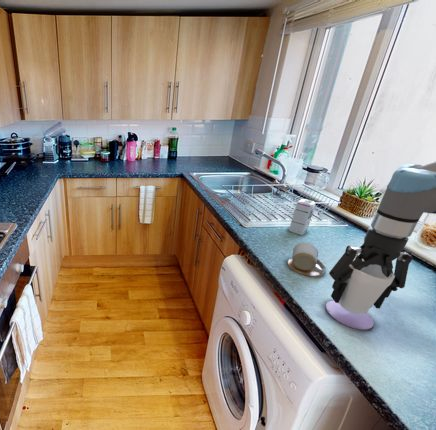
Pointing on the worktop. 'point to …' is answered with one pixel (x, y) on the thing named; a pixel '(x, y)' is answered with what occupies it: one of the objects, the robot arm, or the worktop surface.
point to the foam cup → (364, 288)
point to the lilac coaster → (349, 317)
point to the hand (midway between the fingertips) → (354, 302)
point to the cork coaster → (304, 272)
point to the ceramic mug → (307, 257)
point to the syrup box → (302, 216)
